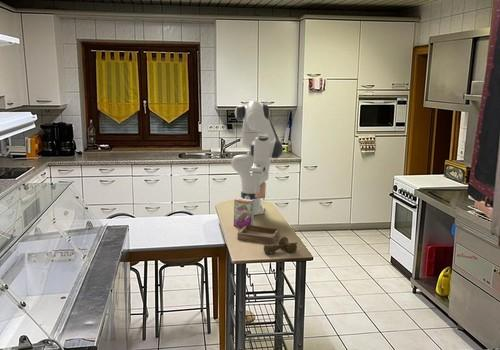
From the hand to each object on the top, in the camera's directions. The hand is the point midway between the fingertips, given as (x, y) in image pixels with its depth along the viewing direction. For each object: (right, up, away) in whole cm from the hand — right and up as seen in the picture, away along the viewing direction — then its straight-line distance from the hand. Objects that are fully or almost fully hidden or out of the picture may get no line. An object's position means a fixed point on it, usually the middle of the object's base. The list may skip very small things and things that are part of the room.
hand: (260, 190), depth 246 cm
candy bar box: (-10, -22, +24) cm, 34 cm away
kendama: (+11, -31, -14) cm, 36 cm away
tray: (-1, -26, +6) cm, 27 cm away
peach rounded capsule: (0, -4, +1) cm, 4 cm away
